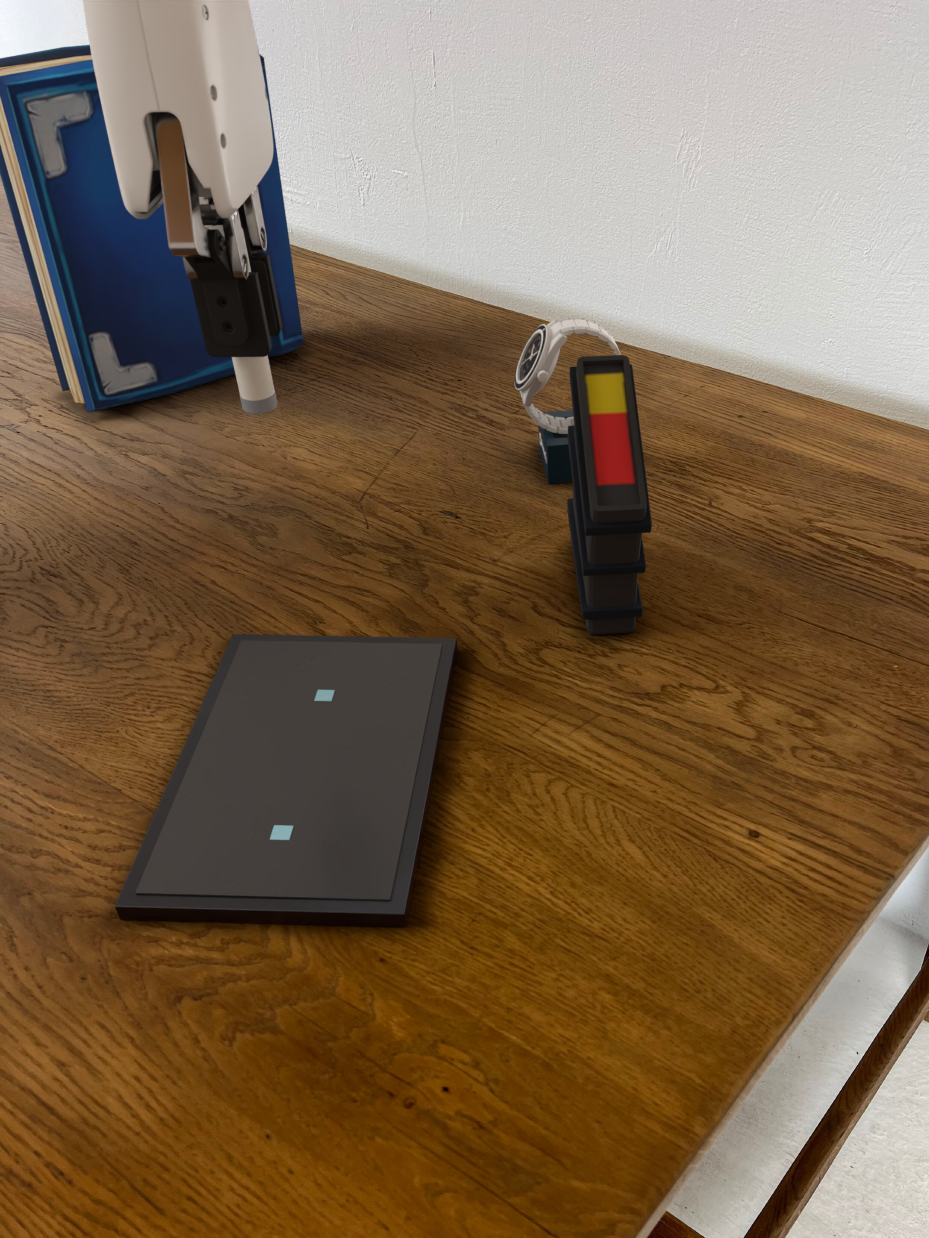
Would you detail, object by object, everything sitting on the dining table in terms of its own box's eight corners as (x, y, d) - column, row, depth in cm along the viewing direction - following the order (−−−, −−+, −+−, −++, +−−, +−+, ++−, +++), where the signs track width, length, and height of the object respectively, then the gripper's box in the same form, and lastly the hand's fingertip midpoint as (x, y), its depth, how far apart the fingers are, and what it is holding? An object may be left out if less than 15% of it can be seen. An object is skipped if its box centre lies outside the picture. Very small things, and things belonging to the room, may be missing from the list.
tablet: (119, 919, 56) (112, 904, 55) (235, 646, 72) (231, 631, 71) (406, 927, 55) (404, 912, 54) (458, 650, 71) (456, 635, 70)
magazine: (616, 498, 81) (633, 349, 68) (634, 664, 77) (657, 540, 63) (563, 501, 81) (570, 352, 67) (579, 667, 76) (589, 544, 62)
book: (283, 328, 109) (228, 20, 92) (321, 352, 105) (271, 33, 88) (60, 394, 99) (-47, 60, 82) (93, 422, 95) (-13, 78, 78)
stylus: (239, 414, 60) (199, 236, 54) (247, 399, 62) (209, 223, 56) (273, 414, 60) (238, 236, 54) (280, 399, 62) (247, 223, 56)
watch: (514, 451, 90) (507, 312, 83) (614, 443, 91) (617, 304, 84) (522, 486, 86) (516, 343, 79) (627, 477, 87) (631, 335, 80)
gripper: (122, -122, 52) (212, 288, 65) (-16, -74, 41) (126, 414, 53) (285, -124, 52) (344, 287, 65) (193, -77, 40) (287, 414, 53)
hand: (245, 341), depth 59 cm, fingers closed on stylus, 1 cm apart
